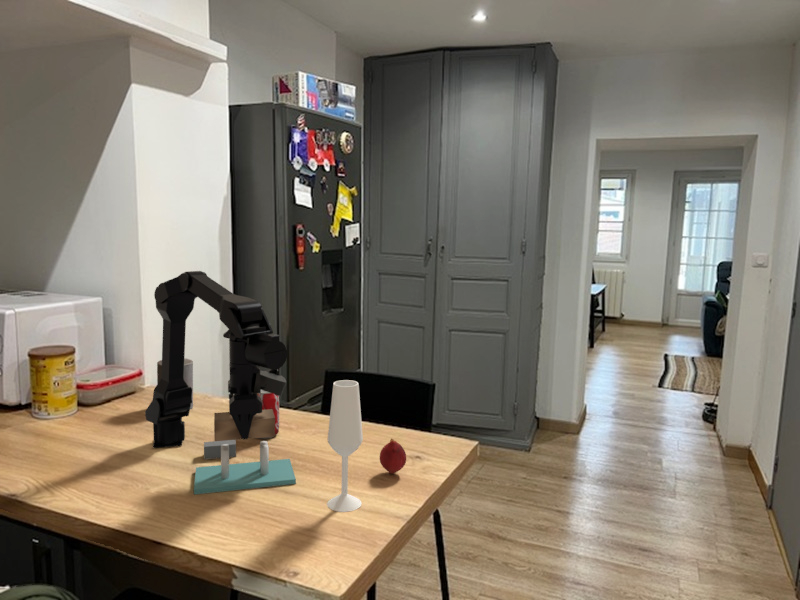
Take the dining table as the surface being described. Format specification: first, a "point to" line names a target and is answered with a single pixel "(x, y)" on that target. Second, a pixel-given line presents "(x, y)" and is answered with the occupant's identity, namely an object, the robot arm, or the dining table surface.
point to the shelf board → (259, 427)
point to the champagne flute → (345, 436)
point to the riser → (218, 449)
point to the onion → (392, 457)
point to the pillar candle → (187, 374)
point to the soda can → (270, 407)
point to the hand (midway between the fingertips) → (244, 433)
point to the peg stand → (243, 473)
